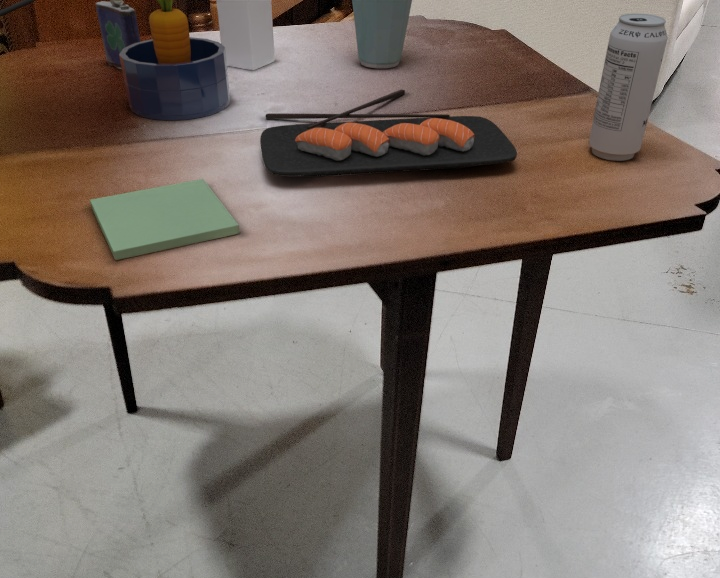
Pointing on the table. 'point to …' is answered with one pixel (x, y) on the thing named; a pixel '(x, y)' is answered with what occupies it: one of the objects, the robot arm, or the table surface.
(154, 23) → the carrot
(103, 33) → the flask
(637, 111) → the energy drink can
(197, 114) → the pot
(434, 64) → the table surface
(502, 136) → the sushi plate
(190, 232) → the mat
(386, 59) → the disposable coffee cup
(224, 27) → the milk
